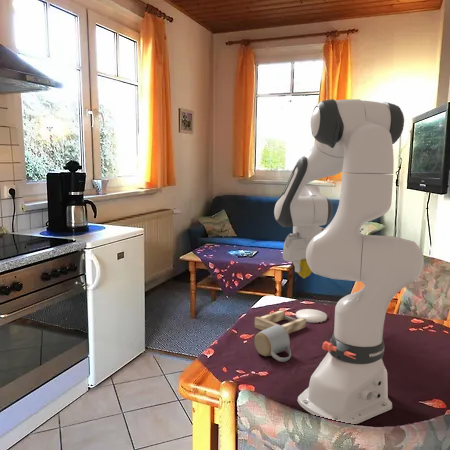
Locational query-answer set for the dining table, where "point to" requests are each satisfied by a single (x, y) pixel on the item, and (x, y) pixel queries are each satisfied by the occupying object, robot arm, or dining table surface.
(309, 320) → the saucer
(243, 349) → the dining table surface
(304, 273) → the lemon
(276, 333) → the ceramic mug
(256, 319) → the wooden rectangular frame
